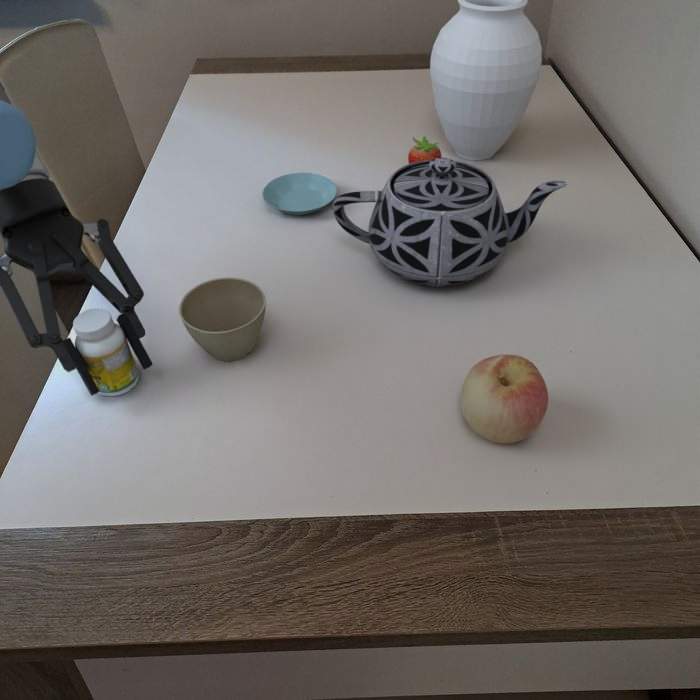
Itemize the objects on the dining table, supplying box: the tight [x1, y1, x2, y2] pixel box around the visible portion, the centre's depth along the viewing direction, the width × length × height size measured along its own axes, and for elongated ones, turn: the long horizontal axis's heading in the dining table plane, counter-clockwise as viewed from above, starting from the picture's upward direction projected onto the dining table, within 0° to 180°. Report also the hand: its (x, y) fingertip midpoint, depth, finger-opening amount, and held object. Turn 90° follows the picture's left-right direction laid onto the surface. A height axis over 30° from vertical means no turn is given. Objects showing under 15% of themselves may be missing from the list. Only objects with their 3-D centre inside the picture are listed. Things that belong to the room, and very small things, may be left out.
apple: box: [460, 354, 549, 444], centre depth 67 cm, size 9×9×8 cm
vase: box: [429, 0, 543, 161], centre depth 107 cm, size 18×18×25 cm
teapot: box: [332, 157, 569, 288], centre depth 87 cm, size 19×31×15 cm, turn 89°
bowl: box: [178, 276, 267, 362], centre depth 77 cm, size 10×10×7 cm
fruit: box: [407, 135, 442, 164], centre depth 105 cm, size 5×5×8 cm
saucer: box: [262, 172, 338, 215], centre depth 103 cm, size 12×12×2 cm
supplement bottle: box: [72, 307, 140, 397], centre depth 73 cm, size 5×5×10 cm
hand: (122, 379), depth 72 cm, fingers open, 6 cm apart
